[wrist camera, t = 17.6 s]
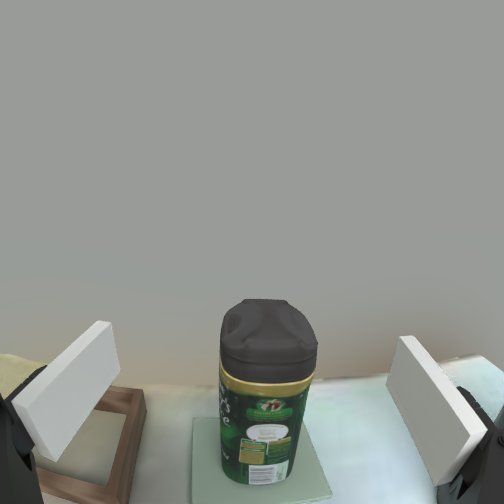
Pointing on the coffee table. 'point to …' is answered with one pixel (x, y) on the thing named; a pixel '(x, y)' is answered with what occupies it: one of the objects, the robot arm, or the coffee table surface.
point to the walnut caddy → (118, 490)
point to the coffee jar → (263, 388)
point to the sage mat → (252, 496)
